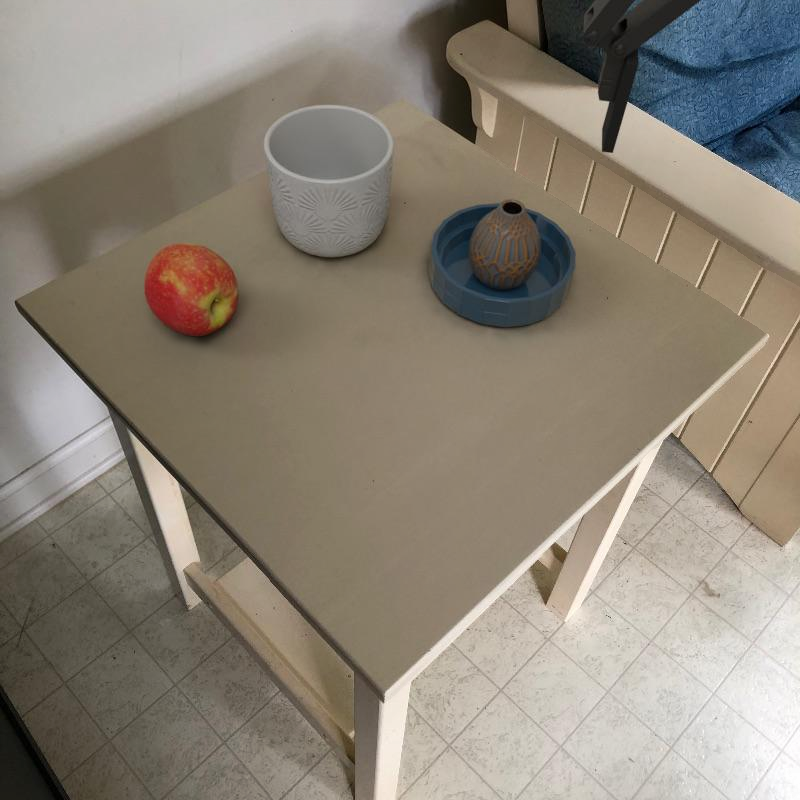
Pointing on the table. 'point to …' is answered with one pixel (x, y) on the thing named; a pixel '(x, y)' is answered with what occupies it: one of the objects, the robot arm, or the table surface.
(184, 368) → the table surface
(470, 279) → the bowl
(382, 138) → the planter
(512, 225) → the vase
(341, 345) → the table surface
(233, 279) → the apple
